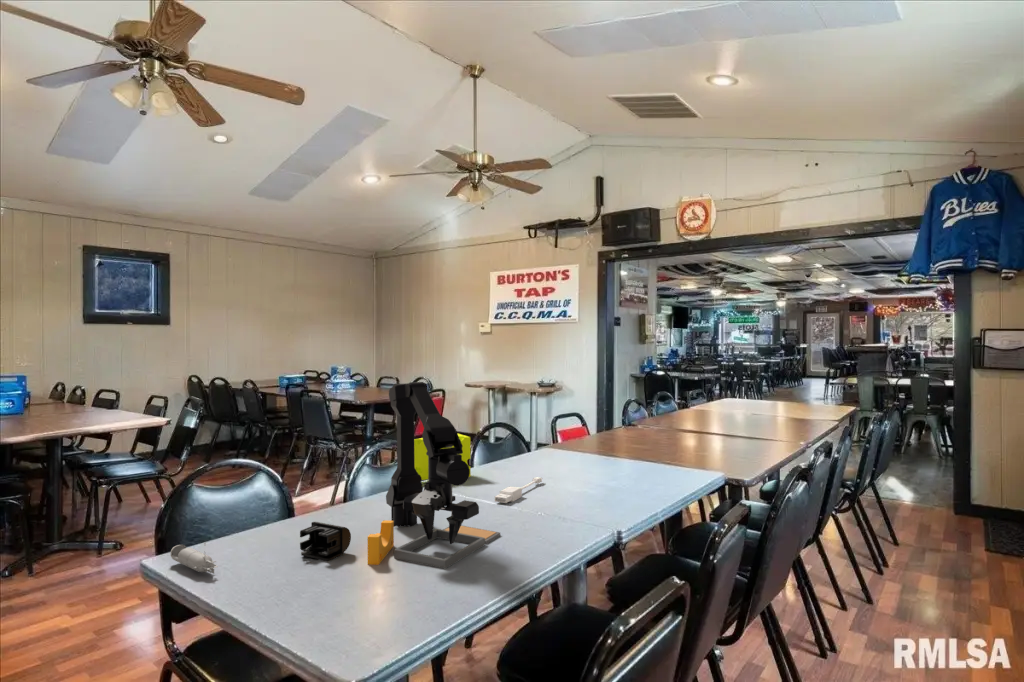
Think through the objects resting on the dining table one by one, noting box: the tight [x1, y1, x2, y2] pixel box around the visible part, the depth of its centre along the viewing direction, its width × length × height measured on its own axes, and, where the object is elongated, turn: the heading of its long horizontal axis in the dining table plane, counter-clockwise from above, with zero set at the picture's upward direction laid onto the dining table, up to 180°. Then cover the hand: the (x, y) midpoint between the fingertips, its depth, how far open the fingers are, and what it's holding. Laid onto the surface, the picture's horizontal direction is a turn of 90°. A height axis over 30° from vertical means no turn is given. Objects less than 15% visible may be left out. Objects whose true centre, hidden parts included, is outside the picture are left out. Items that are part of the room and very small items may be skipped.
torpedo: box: [170, 542, 219, 574], centre depth 130 cm, size 18×5×7 cm, turn 54°
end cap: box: [299, 521, 352, 562], centre depth 138 cm, size 10×7×7 cm
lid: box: [442, 524, 501, 545], centre depth 149 cm, size 15×7×1 cm, turn 61°
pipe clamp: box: [367, 519, 395, 566], centre depth 137 cm, size 12×4×6 cm, turn 176°
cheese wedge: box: [414, 432, 472, 481], centre depth 216 cm, size 19×20×15 cm
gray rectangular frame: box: [393, 528, 486, 570], centre depth 138 cm, size 15×17×2 cm
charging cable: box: [494, 476, 543, 504], centre depth 192 cm, size 5×31×3 cm, turn 153°
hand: (440, 541), depth 138 cm, fingers open, 6 cm apart
